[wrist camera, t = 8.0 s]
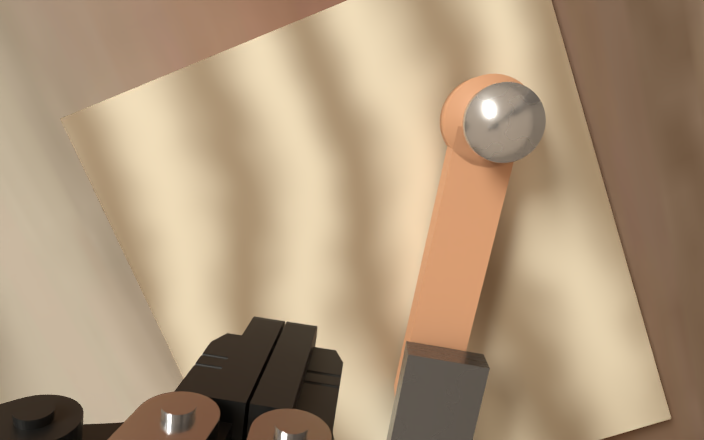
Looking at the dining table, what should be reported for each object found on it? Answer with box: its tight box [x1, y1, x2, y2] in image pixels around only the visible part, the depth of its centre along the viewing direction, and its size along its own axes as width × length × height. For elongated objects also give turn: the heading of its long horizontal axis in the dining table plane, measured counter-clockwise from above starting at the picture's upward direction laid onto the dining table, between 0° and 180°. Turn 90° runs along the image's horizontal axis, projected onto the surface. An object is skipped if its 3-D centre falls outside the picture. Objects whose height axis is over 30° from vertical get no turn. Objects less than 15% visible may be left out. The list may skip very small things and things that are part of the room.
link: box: [394, 74, 523, 395], centre depth 27 cm, size 18×4×2 cm, turn 170°
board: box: [60, 0, 671, 440], centre depth 30 cm, size 26×28×1 cm
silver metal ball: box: [463, 82, 546, 163], centre depth 24 cm, size 3×3×3 cm
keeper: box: [387, 341, 490, 440], centre depth 28 cm, size 8×4×4 cm, turn 171°
